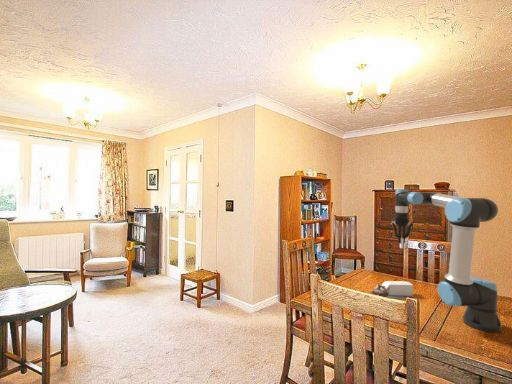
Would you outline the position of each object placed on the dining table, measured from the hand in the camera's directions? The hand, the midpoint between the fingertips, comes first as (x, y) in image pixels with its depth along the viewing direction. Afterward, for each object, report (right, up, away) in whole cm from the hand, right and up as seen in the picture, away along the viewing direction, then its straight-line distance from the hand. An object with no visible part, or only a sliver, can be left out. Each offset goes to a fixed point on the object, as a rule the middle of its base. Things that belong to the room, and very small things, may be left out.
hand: (401, 248), depth 181 cm
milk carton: (+6, -27, -1) cm, 27 cm away
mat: (-5, -30, +1) cm, 31 cm away
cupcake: (-21, -30, -14) cm, 39 cm away
